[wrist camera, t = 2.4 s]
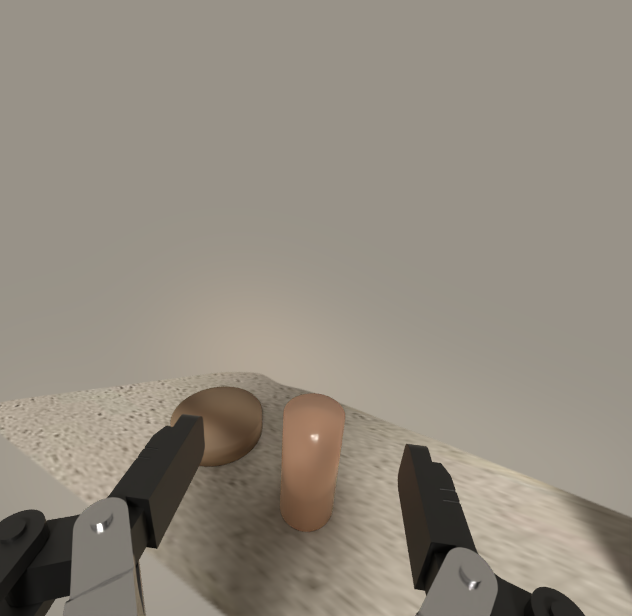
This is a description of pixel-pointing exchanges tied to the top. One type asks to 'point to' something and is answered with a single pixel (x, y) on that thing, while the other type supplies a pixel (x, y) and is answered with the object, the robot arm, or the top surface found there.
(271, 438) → the top surface
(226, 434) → the brown disc
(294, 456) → the tan rounded post
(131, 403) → the top surface
